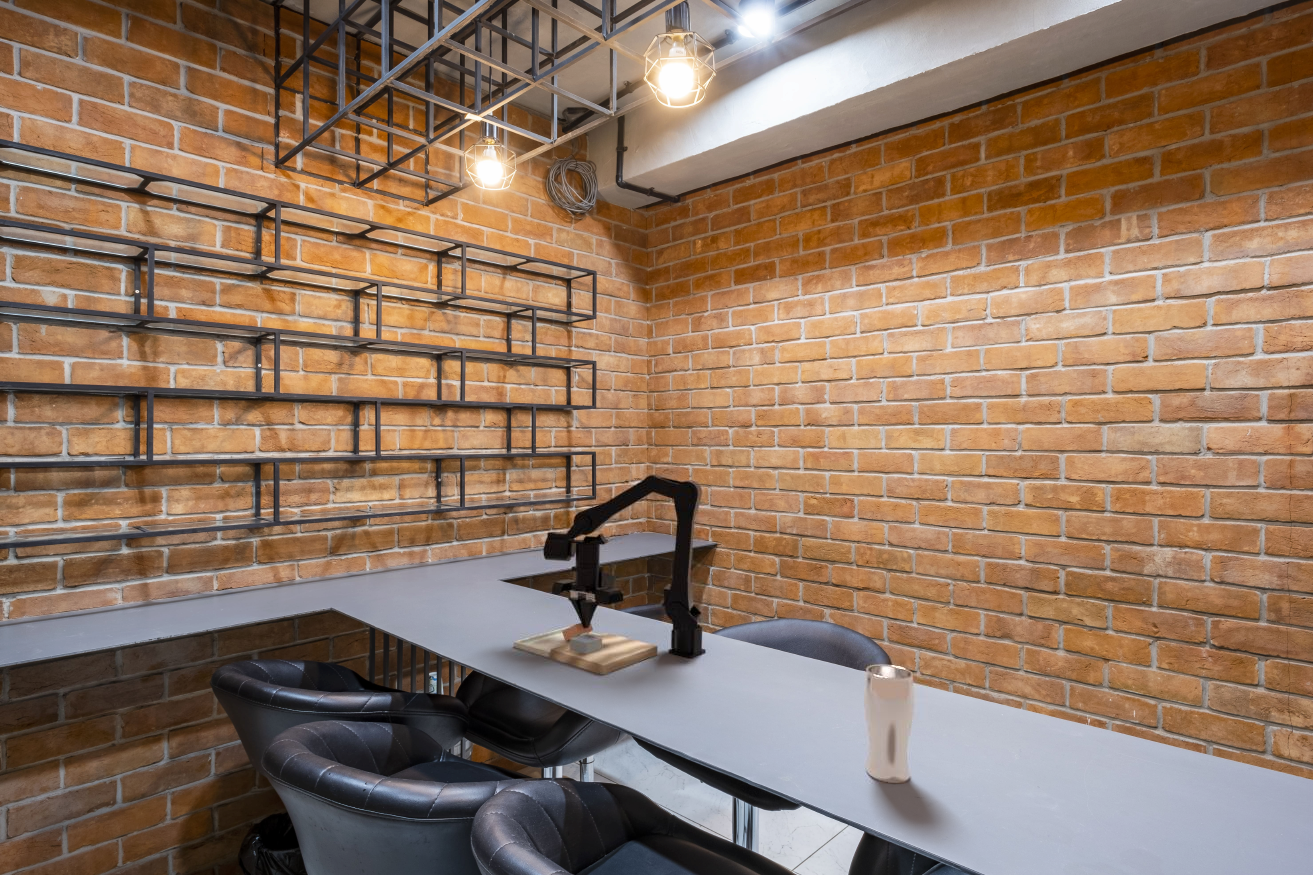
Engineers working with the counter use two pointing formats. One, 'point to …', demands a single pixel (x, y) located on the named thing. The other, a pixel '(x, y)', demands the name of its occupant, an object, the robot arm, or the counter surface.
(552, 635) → the tray
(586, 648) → the grey box
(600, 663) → the birch board
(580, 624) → the terracotta block
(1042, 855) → the counter surface
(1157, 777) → the counter surface
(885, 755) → the beer glass
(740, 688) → the counter surface
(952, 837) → the counter surface
